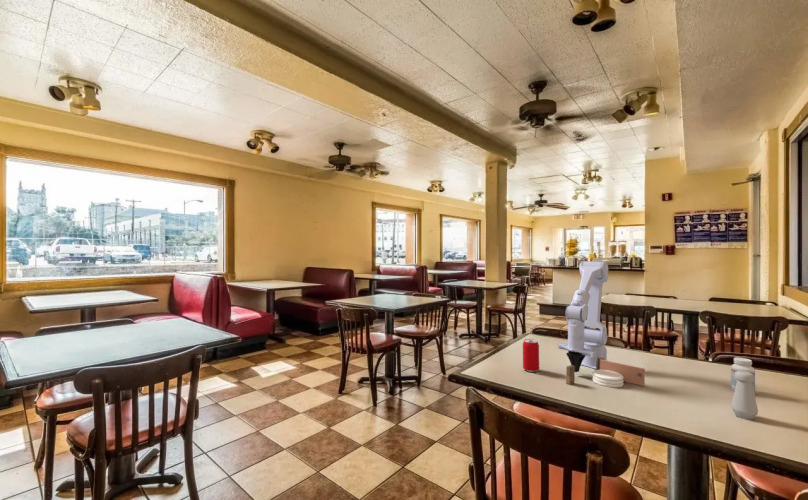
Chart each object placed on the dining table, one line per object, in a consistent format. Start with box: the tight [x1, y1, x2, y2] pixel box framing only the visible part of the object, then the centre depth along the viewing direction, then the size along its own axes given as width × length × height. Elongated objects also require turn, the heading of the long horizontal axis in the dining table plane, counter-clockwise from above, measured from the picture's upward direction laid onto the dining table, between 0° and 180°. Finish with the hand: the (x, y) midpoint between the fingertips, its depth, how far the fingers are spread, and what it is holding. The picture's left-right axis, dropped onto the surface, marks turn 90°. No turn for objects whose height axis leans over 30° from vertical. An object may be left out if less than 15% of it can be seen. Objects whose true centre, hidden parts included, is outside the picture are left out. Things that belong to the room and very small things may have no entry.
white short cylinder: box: [591, 369, 625, 389], centre depth 131 cm, size 10×10×4 cm
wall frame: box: [565, 357, 604, 386], centre depth 135 cm, size 22×1×7 cm, turn 121°
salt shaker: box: [730, 371, 759, 421], centre depth 105 cm, size 6×6×13 cm
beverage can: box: [522, 338, 540, 373], centre depth 144 cm, size 6×6×12 cm
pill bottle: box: [730, 357, 756, 394], centre depth 124 cm, size 6×6×11 cm
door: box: [600, 359, 646, 387], centre depth 133 cm, size 15×2×6 cm, turn 42°
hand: (575, 371), depth 138 cm, fingers closed
